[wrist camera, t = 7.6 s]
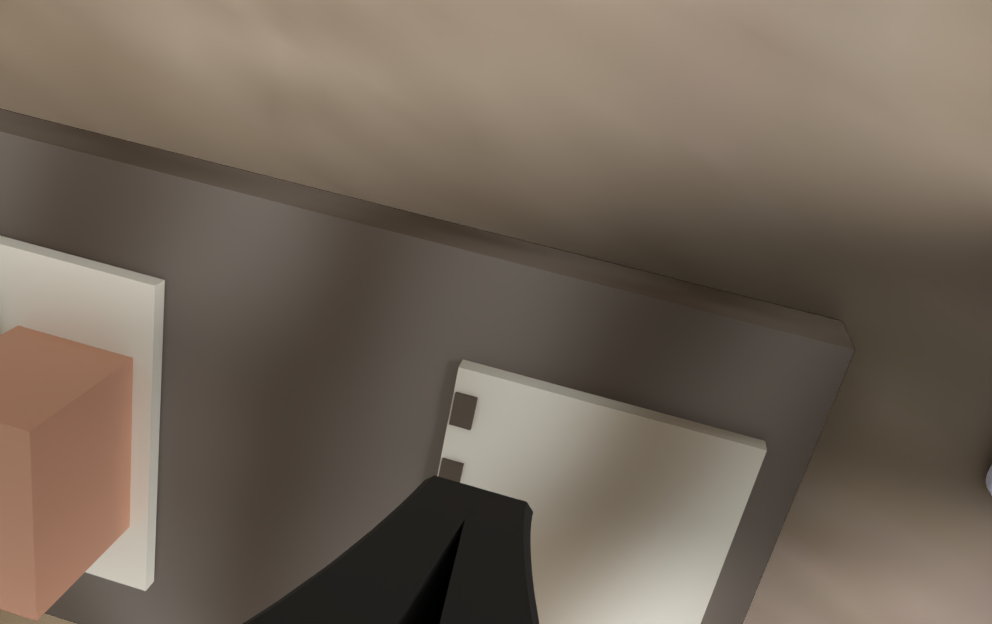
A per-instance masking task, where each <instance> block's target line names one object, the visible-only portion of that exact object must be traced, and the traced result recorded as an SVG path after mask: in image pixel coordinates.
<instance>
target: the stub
mask: <svg viewBox="0 0 992 624" xmlns="http://www.w3.org/2000/svg"><path fill="white" fill-rule="evenodd" d="M164 291H165V280H163V279H159V278H156V277H152V276H148V275H145V274H141V273H137V272H133V271H130V270H126V269H122V268H119V267H115V266H111V265H108V264H104V263H100V262H96V261H93V260H89V259H85V258H82V257H78V256H74V255H70V254H67V253H63V252H59V251H56V250H52V249H48V248H45V247H41V246H37V245H33V244H30V243H26V242H22V241H19V240H15V239H11V238H8V237H4V236H0V609H1V610H4V611H7V612H11V613H14V614H17V615H20V616H23V617H26V618H29V619H32V620H35V621H37V620H38V619H39V618H40V617H41V616H42V615H43V614H44V613H45V612H46V611H47V610H48V609H49V608H50V607H51V606H52V605H53V604H54V603H55V602H56V601H57V600H58V599H59V598H60V597H61V596H62V595H63V594H64V593H65V592H66V591H67V590H68V589H69V588H70V587H71V586H72V585H73V584H74V583H75V582H76V581H77V580H78V579H79V578H80V577H81V576H82V575H83V574H84V573H85V572H86V573H89V574H92V575H96V576H99V577H102V578H105V579H108V580H111V581H115V582H118V583H121V584H124V585H127V586H131V587H134V588H137V589H140V590H143V591H146V590H147V589H148V588H149V587H150V586H151V584H152V583H153V582H154V568H155V541H156V513H157V485H158V457H159V430H160V402H161V374H162V347H163V319H164Z"/></svg>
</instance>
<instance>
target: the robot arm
mask: <svg viewBox="0 0 992 624" xmlns="http://www.w3.org/2000/svg"><path fill="white" fill-rule="evenodd" d="M986 485H987V489H988V490H989V492H990V494H991V495H992V465H991V467H990V469H989V471H988V473H987V477H986ZM532 515H533V511H532V509H531V508H530V506H529V504H528V503H527V502H526V501H522V500H519V499H515V498H512V497H508V496H505V495H501V494H498V493H494V492H491V491H487V490H484V489H481V488H477V487H474V486H470V485H467V484H463V483H460V482H456V481H453V480H449V479H446V478H442V477H439V476H435V475H434V476H432V477H430V478H428V479H426V480H424V481H423V482H422V483H421V484H420V485H419V486H418V487H417V488H416V489H415V490H414V491H413V492H412V493H411V494H410V495H409V496H408V497H407V498H406V499H405V500H404V501H403V502H402V503H401V504H400V505H399V506H398V507H397V508H396V509H395V510H394V511H392V512H391V513H390V514H389V515H388V516H387V517H386V518H385V519H383V520H382V521H381V522H380V523H379V524H378V525H377V526H375V527H374V528H373V529H372V530H371V531H370V532H368V533H367V534H366V535H365V536H363V537H362V538H361V539H360V540H359V541H357V542H356V543H355V544H354V545H352V546H351V547H350V548H349V549H347V550H346V551H345V552H344V553H343V554H341V555H340V556H339V557H338V558H336V559H335V560H334V561H332V562H331V563H330V564H329V565H327V566H326V567H325V568H323V569H322V570H320V571H319V572H318V573H316V574H315V575H313V576H312V577H311V578H309V579H308V580H306V581H305V582H304V583H302V584H301V585H299V586H298V587H297V588H295V589H294V590H292V591H291V592H290V593H288V594H287V595H285V596H284V597H283V598H281V599H280V600H278V601H277V602H275V603H274V604H272V605H271V606H269V607H268V608H266V609H265V610H263V611H261V612H260V613H258V614H257V615H255V616H254V617H252V618H251V619H249V620H247V621H246V622H244V623H242V624H539V618H538V612H537V606H536V600H535V593H534V585H533V576H532V563H531V521H532Z"/></svg>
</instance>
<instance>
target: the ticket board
mask: <svg viewBox="0 0 992 624" xmlns="http://www.w3.org/2000/svg"><path fill="white" fill-rule="evenodd" d="M0 236H4V237H8V238H11V239H15V240H19V241H22V242H26V243H30V244H33V245H37V246H41V247H45V248H48V249H52V250H56V251H59V252H63V253H67V254H70V255H74V256H78V257H82V258H85V259H89V260H93V261H96V262H100V263H104V264H108V265H111V266H115V267H119V268H122V269H126V270H130V271H133V272H137V273H141V274H145V275H148V276H152V277H156V278H159V279H163V280H165V291H164V319H163V347H162V374H161V402H160V430H159V457H158V485H157V513H156V541H155V568H154V582H153V583H152V584H151V586H150V587H149V588H148V589H147V590H146V591H143V590H140V589H137V588H134V587H131V586H127V585H124V584H121V583H118V582H115V581H111V580H108V579H105V578H102V577H99V576H96V575H92V574H89V573H86V572H85V573H84V574H83V575H82V576H81V577H80V578H79V579H78V580H77V581H76V582H75V583H74V584H73V585H72V586H71V587H70V588H69V589H68V590H67V591H66V592H65V593H64V594H63V595H62V596H61V597H60V598H59V599H58V600H57V601H56V602H55V603H54V604H53V605H52V606H51V607H50V608H49V609H48V610H47V611H46V612H45V613H46V614H49V615H52V616H55V617H58V618H61V619H64V620H68V621H71V622H74V623H77V624H242V623H244V622H246V621H247V620H249V619H251V618H252V617H254V616H255V615H257V614H258V613H260V612H261V611H263V610H265V609H266V608H268V607H269V606H271V605H272V604H274V603H275V602H277V601H278V600H280V599H281V598H283V597H284V596H285V595H287V594H288V593H290V592H291V591H292V590H294V589H295V588H297V587H298V586H299V585H301V584H302V583H304V582H305V581H306V580H308V579H309V578H311V577H312V576H313V575H315V574H316V573H318V572H319V571H320V570H322V569H323V568H325V567H326V566H327V565H329V564H330V563H331V562H332V561H334V560H335V559H336V558H338V557H339V556H340V555H341V554H343V553H344V552H345V551H346V550H347V549H349V548H350V547H351V546H352V545H354V544H355V543H356V542H357V541H359V540H360V539H361V538H362V537H363V536H365V535H366V534H367V533H368V532H370V531H371V530H372V529H373V528H374V527H375V526H377V525H378V524H379V523H380V522H381V521H382V520H383V519H385V518H386V517H387V516H388V515H389V514H390V513H391V512H392V511H394V510H395V509H396V508H397V507H398V506H399V505H400V504H401V503H402V502H403V501H404V500H405V499H406V498H407V497H408V496H409V495H410V494H411V493H412V492H413V491H414V490H415V489H416V488H417V487H418V486H419V485H420V484H421V483H422V482H423V481H424V480H426V479H428V478H430V477H432V476H434V475H435V476H439V477H442V478H446V479H449V480H453V481H456V482H460V483H463V484H467V485H470V486H474V487H477V488H481V489H484V490H487V491H491V492H494V493H498V494H501V495H505V496H508V497H512V498H515V499H519V500H522V501H526V502H527V503H528V504H529V506H530V508H531V509H532V511H533V515H532V521H531V563H532V576H533V585H534V593H535V600H536V606H537V612H538V618H539V624H743V622H744V619H745V617H746V614H747V612H748V610H749V607H750V605H751V602H752V600H753V597H754V595H755V592H756V590H757V588H758V585H759V583H760V580H761V578H762V575H763V573H764V571H765V568H766V566H767V563H768V561H769V558H770V556H771V553H772V551H773V549H774V546H775V544H776V541H777V539H778V536H779V534H780V531H781V529H782V527H783V524H784V522H785V519H786V517H787V514H788V512H789V510H790V507H791V505H792V502H793V500H794V497H795V495H796V492H797V490H798V488H799V485H800V483H801V480H802V478H803V475H804V473H805V470H806V468H807V466H808V463H809V461H810V458H811V456H812V453H813V451H814V449H815V446H816V444H817V441H818V439H819V436H820V434H821V431H822V429H823V427H824V424H825V422H826V419H827V417H828V414H829V412H830V409H831V407H832V405H833V402H834V400H835V397H836V395H837V392H838V390H839V388H840V385H841V383H842V380H843V378H844V375H845V373H846V370H847V368H848V366H849V363H850V361H851V358H852V356H853V353H854V351H855V349H854V346H853V344H852V342H851V340H850V337H849V335H848V333H847V331H846V329H845V326H844V324H843V322H842V321H839V320H835V319H831V318H827V317H823V316H819V315H815V314H812V313H808V312H804V311H800V310H796V309H792V308H788V307H784V306H780V305H776V304H772V303H768V302H764V301H760V300H756V299H752V298H748V297H744V296H740V295H736V294H732V293H728V292H724V291H720V290H716V289H712V288H708V287H704V286H700V285H697V284H693V283H689V282H685V281H681V280H677V279H673V278H669V277H665V276H661V275H657V274H653V273H649V272H645V271H641V270H637V269H633V268H629V267H625V266H621V265H617V264H613V263H609V262H605V261H601V260H597V259H593V258H589V257H586V256H582V255H578V254H574V253H570V252H566V251H562V250H558V249H554V248H550V247H546V246H542V245H538V244H534V243H530V242H526V241H522V240H518V239H514V238H510V237H506V236H502V235H498V234H494V233H490V232H486V231H482V230H478V229H474V228H471V227H467V226H463V225H459V224H455V223H451V222H447V221H443V220H439V219H435V218H431V217H427V216H423V215H419V214H415V213H411V212H407V211H403V210H399V209H395V208H391V207H387V206H383V205H379V204H375V203H371V202H367V201H363V200H359V199H356V198H352V197H348V196H344V195H340V194H336V193H332V192H328V191H324V190H320V189H316V188H312V187H308V186H304V185H300V184H296V183H292V182H288V181H284V180H280V179H276V178H272V177H268V176H264V175H260V174H256V173H252V172H248V171H244V170H241V169H237V168H233V167H229V166H225V165H221V164H217V163H213V162H209V161H205V160H201V159H197V158H193V157H189V156H185V155H181V154H177V153H173V152H169V151H165V150H161V149H157V148H153V147H149V146H145V145H141V144H137V143H133V142H129V141H126V140H122V139H118V138H114V137H110V136H106V135H102V134H98V133H94V132H90V131H86V130H82V129H78V128H74V127H70V126H66V125H62V124H58V123H54V122H50V121H46V120H42V119H38V118H34V117H30V116H26V115H22V114H18V113H14V112H11V111H7V110H3V109H0Z"/></svg>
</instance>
